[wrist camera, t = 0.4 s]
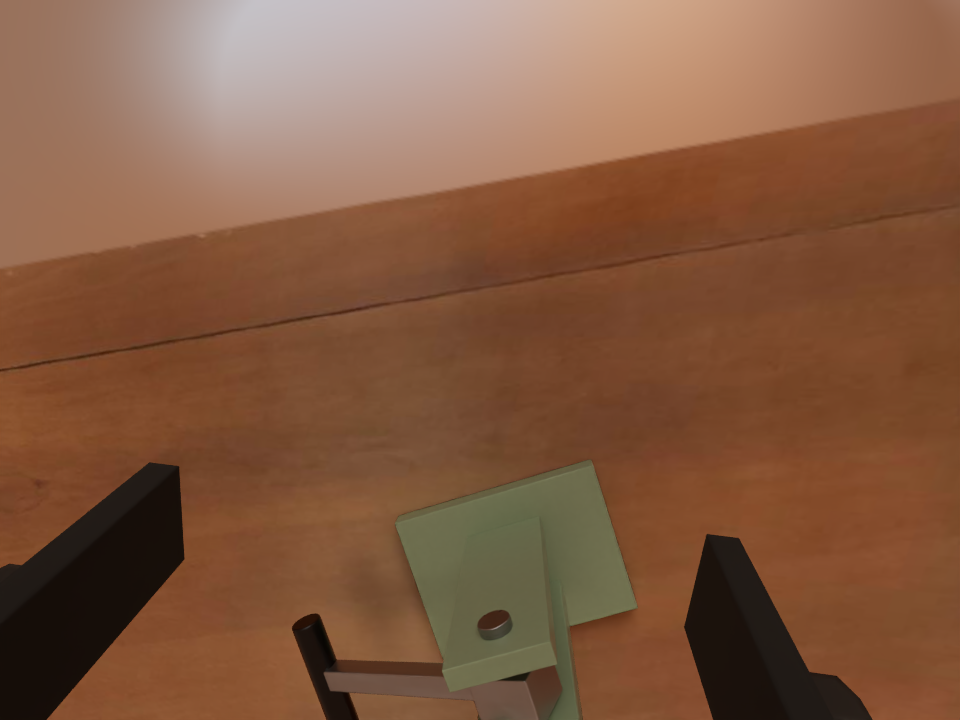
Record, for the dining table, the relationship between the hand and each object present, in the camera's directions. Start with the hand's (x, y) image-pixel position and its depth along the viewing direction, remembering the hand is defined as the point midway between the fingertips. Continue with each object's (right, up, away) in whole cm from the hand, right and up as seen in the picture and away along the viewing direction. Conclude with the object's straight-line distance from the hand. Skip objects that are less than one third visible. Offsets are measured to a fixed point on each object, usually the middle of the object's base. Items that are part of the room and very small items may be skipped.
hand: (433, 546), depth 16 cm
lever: (-1, -10, +14) cm, 17 cm away
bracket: (+3, -7, +23) cm, 24 cm away
